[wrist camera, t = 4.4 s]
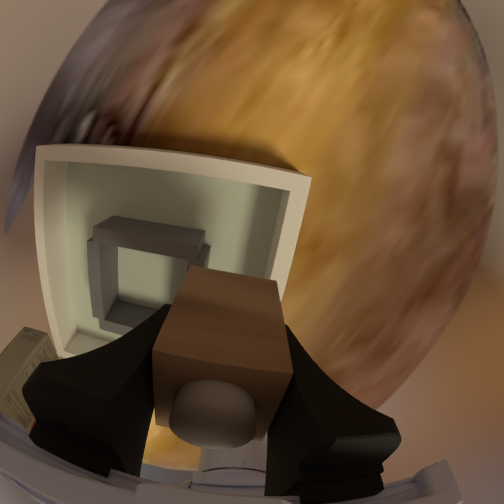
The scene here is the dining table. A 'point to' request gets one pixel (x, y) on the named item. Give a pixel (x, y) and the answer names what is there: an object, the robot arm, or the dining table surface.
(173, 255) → the cream square tray
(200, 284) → the peg
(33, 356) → the skincare box
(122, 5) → the dining table surface
